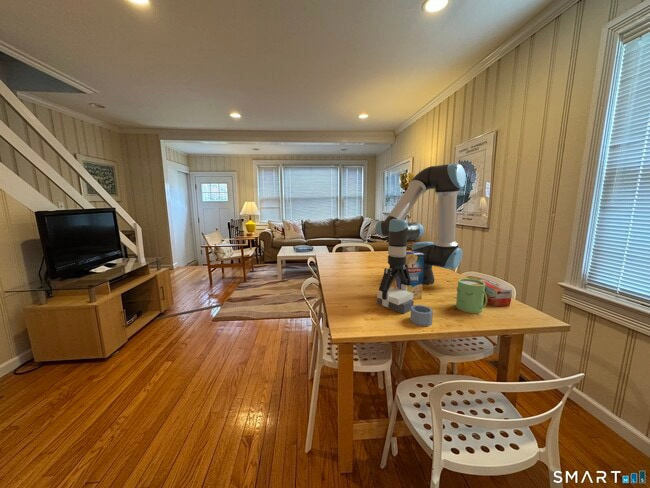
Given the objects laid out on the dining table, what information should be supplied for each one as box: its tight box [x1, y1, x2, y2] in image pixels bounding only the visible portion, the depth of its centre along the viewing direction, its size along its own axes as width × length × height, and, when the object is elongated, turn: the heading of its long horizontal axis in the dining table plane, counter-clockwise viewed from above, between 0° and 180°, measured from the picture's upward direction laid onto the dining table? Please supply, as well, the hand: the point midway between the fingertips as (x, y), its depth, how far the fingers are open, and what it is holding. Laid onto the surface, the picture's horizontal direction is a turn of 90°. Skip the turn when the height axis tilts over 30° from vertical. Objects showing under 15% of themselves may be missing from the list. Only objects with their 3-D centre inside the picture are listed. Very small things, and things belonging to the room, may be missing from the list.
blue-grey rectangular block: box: [376, 297, 415, 315], centre depth 112 cm, size 7×14×4 cm, turn 40°
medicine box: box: [478, 279, 513, 308], centre depth 119 cm, size 15×8×8 cm, turn 8°
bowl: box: [409, 304, 434, 327], centre depth 98 cm, size 8×8×5 cm
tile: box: [376, 286, 414, 305], centre depth 112 cm, size 11×11×2 cm
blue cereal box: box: [394, 251, 424, 300], centre depth 123 cm, size 7×11×22 cm, turn 96°
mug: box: [455, 278, 488, 314], centre depth 109 cm, size 13×10×12 cm
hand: (394, 302), depth 112 cm, fingers open, 13 cm apart
